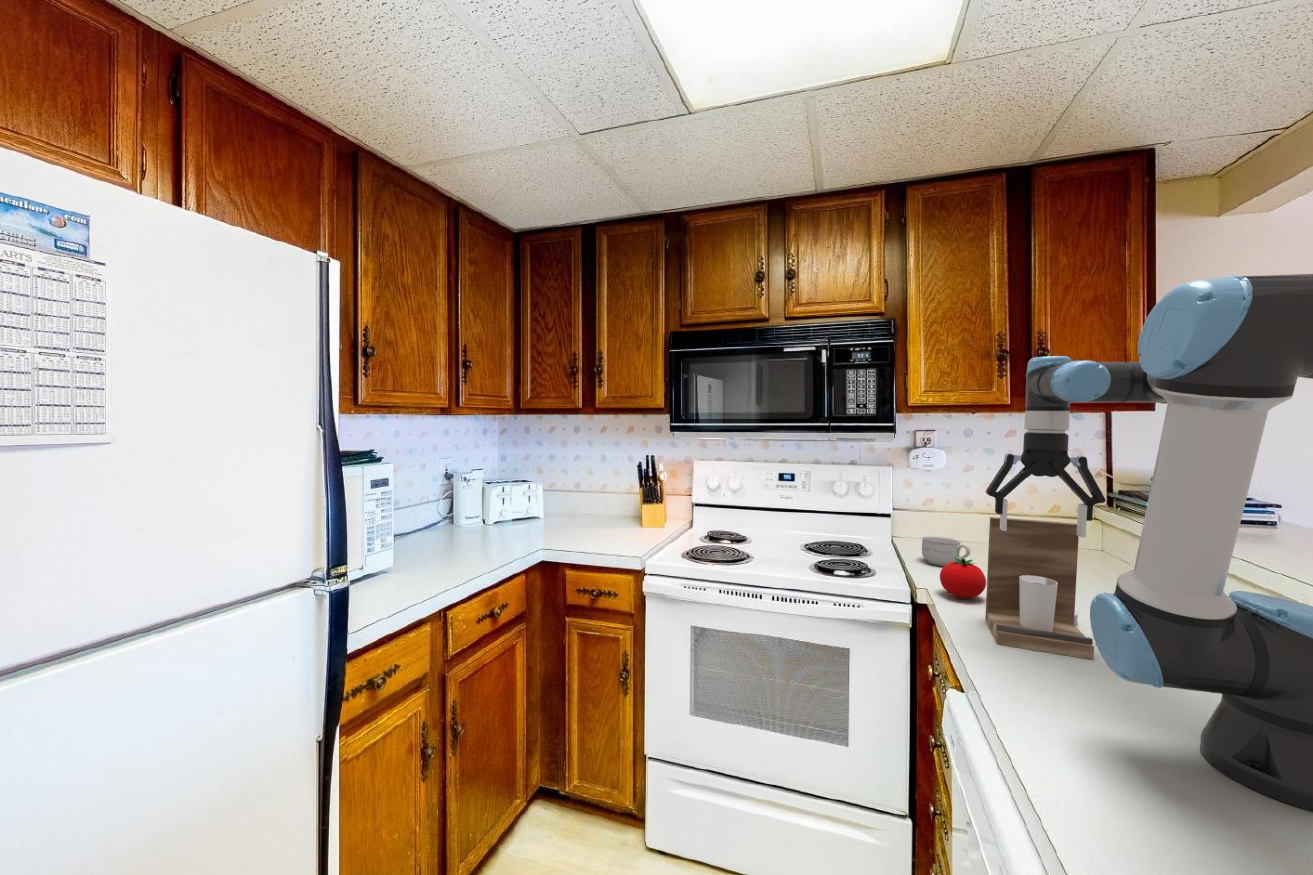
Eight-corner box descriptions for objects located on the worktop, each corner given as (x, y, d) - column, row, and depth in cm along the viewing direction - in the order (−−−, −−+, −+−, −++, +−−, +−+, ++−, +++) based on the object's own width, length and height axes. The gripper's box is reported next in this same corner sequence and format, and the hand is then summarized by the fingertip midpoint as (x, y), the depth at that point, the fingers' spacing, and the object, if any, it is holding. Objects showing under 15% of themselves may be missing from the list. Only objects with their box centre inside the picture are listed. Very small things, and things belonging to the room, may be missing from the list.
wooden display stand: (1093, 659, 103) (1100, 537, 102) (997, 644, 109) (1002, 529, 108) (1070, 631, 116) (1076, 523, 115) (985, 619, 122) (989, 516, 121)
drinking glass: (1063, 630, 111) (1065, 583, 110) (1041, 635, 108) (1044, 586, 108) (1030, 618, 117) (1032, 573, 116) (1009, 622, 114) (1011, 577, 114)
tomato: (929, 592, 140) (931, 555, 140) (958, 588, 144) (960, 552, 143) (965, 606, 130) (966, 566, 130) (995, 601, 134) (996, 562, 134)
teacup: (913, 561, 170) (914, 536, 170) (936, 557, 175) (937, 533, 174) (953, 573, 157) (954, 546, 157) (977, 569, 162) (978, 543, 162)
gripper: (1114, 432, 109) (1108, 535, 110) (973, 429, 119) (970, 523, 120) (1129, 434, 102) (1123, 543, 103) (979, 430, 112) (975, 530, 113)
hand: (1041, 532), depth 111 cm, fingers open, 13 cm apart
